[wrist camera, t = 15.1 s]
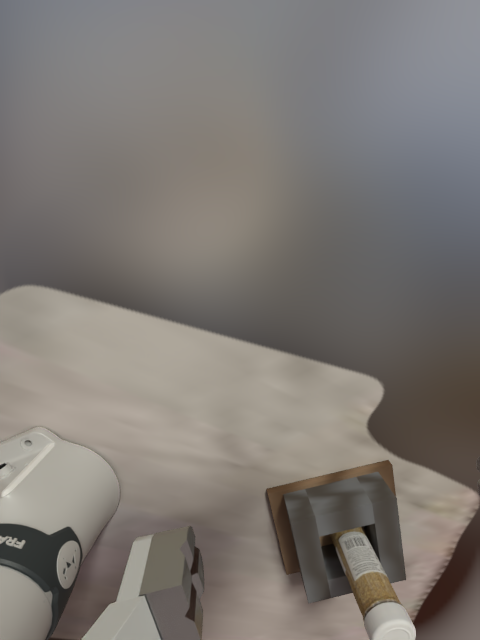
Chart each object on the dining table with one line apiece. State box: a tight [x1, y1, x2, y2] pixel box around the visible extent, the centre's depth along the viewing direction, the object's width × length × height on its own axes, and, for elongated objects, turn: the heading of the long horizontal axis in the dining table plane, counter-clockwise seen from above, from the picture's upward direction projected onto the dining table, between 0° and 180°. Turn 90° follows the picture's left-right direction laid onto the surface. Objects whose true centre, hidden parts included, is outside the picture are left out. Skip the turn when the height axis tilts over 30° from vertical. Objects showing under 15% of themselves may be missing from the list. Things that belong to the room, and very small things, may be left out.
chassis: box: [267, 460, 406, 603], centre depth 42 cm, size 17×14×6 cm
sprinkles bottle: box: [329, 527, 416, 640], centre depth 37 cm, size 5×5×14 cm
